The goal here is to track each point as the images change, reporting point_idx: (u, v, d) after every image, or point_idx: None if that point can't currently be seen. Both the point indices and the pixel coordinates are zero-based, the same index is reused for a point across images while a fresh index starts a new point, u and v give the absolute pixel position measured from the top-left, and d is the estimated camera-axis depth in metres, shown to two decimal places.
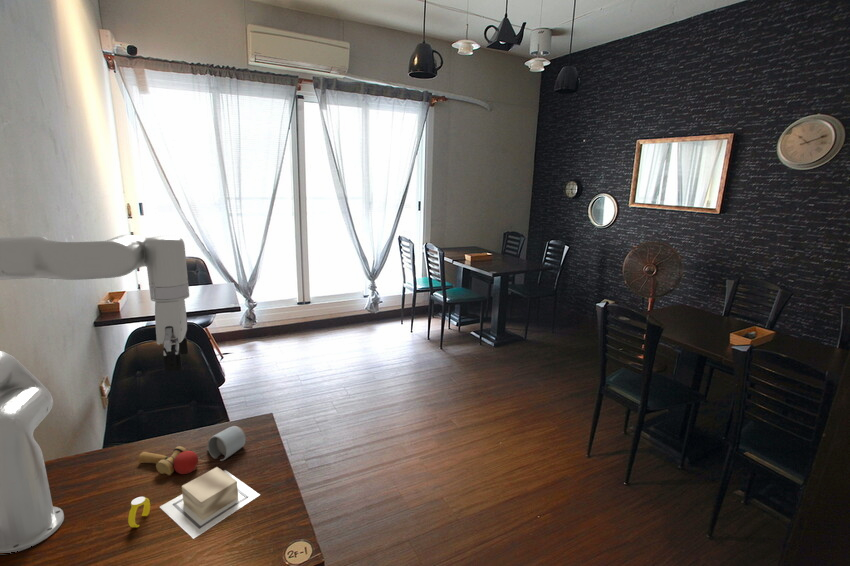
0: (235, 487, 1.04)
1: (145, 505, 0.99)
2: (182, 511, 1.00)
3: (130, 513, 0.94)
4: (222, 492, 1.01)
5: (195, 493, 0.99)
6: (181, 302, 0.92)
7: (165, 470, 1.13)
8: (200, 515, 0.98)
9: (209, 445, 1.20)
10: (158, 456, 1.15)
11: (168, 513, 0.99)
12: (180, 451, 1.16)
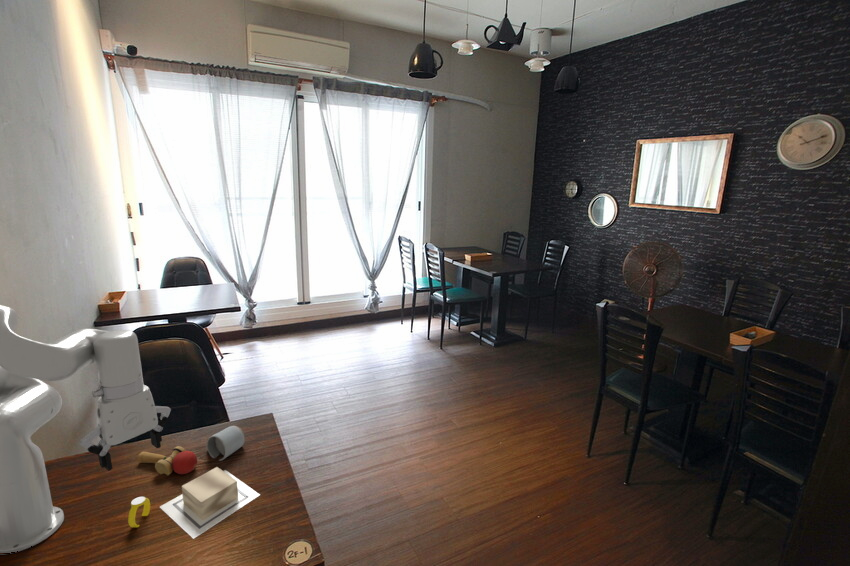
0: (235, 487, 1.04)
1: (145, 505, 0.99)
2: (182, 511, 1.00)
3: (130, 513, 0.94)
4: (222, 492, 1.01)
5: (195, 493, 0.99)
6: None
7: (164, 470, 1.13)
8: (200, 515, 0.98)
9: (208, 445, 1.20)
10: (157, 455, 1.15)
11: (168, 513, 0.99)
12: (179, 451, 1.16)
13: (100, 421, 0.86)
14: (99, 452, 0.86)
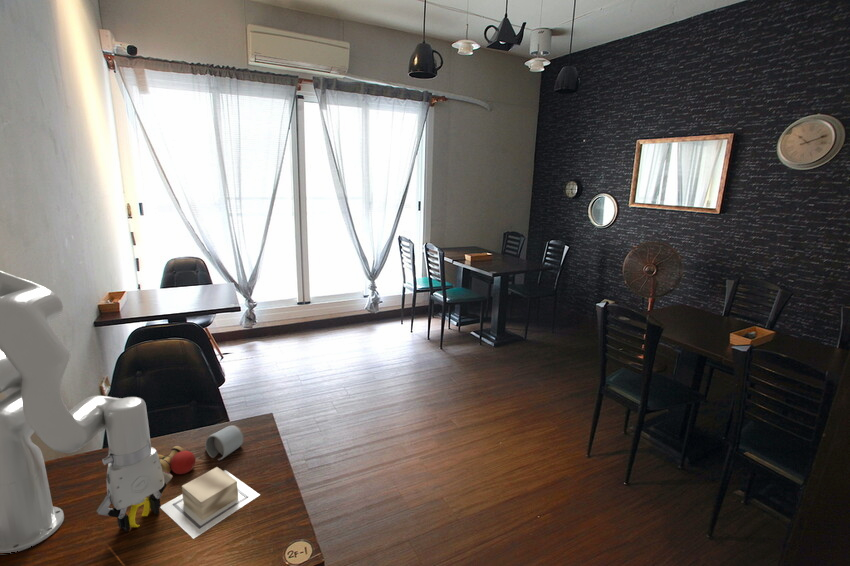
0: (235, 487, 1.04)
1: (145, 505, 0.99)
2: (182, 511, 1.00)
3: (130, 513, 0.94)
4: (222, 492, 1.01)
5: (195, 493, 0.99)
6: None
7: None
8: (200, 515, 0.98)
9: (207, 444, 1.20)
10: None
11: (168, 513, 0.99)
12: (177, 451, 1.16)
13: (110, 487, 0.89)
14: (118, 516, 0.92)
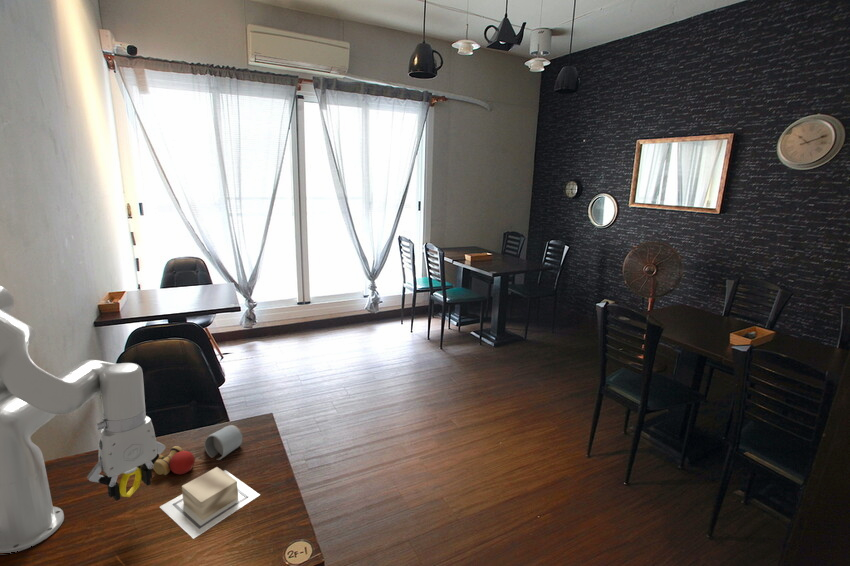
0: (235, 487, 1.04)
1: (136, 475, 0.97)
2: (182, 511, 1.00)
3: (121, 482, 0.92)
4: (222, 492, 1.01)
5: (195, 493, 0.99)
6: None
7: (161, 470, 1.13)
8: (200, 515, 0.98)
9: (206, 444, 1.20)
10: None
11: (168, 513, 0.99)
12: (177, 451, 1.16)
13: (102, 453, 0.88)
14: (108, 484, 0.90)
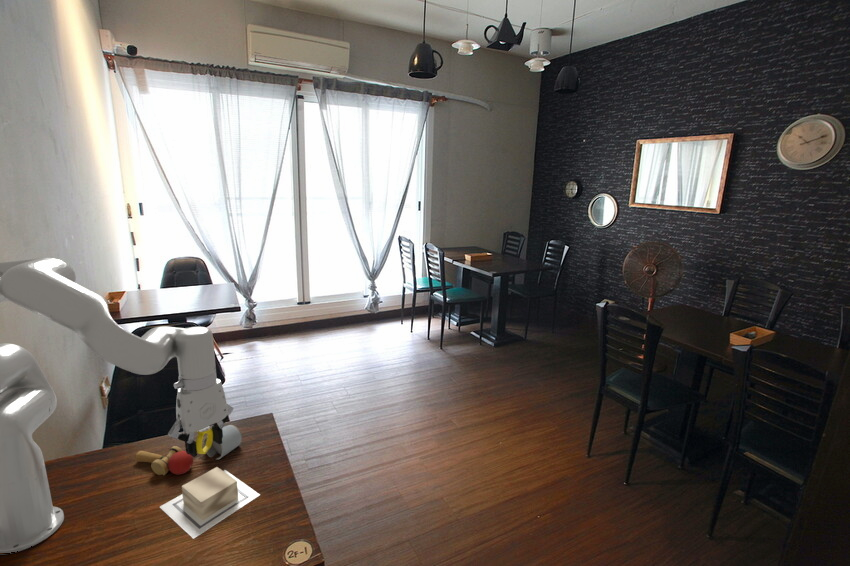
0: (235, 487, 1.04)
1: (208, 435, 1.02)
2: (182, 511, 1.00)
3: (197, 439, 0.97)
4: (222, 492, 1.01)
5: (195, 493, 0.99)
6: None
7: (160, 470, 1.13)
8: (200, 515, 0.98)
9: (205, 444, 1.21)
10: (154, 455, 1.16)
11: (168, 513, 0.99)
12: (175, 451, 1.16)
13: (180, 411, 0.93)
14: (187, 441, 0.95)
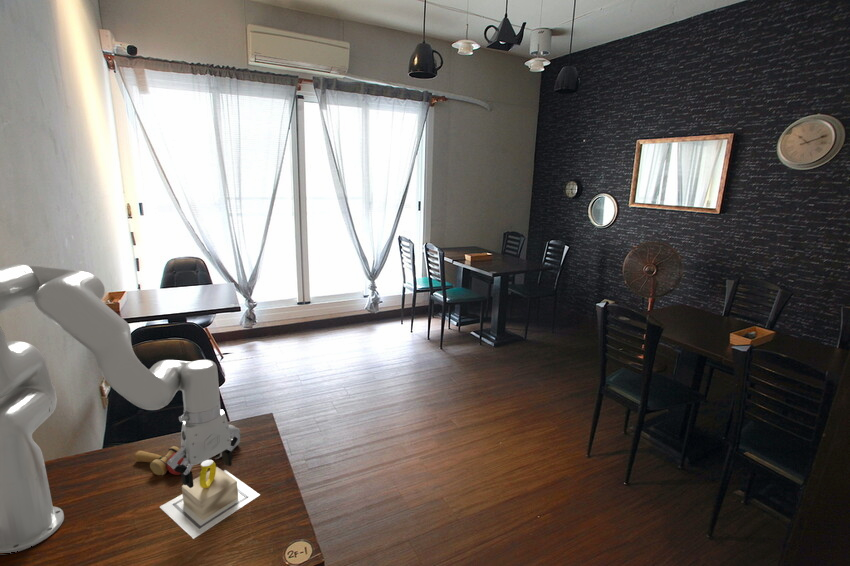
0: (235, 487, 1.04)
1: (211, 468, 1.04)
2: (182, 511, 1.00)
3: (201, 474, 0.99)
4: (222, 492, 1.01)
5: (195, 493, 0.99)
6: None
7: (159, 470, 1.13)
8: (200, 515, 0.98)
9: None
10: (153, 455, 1.16)
11: (168, 513, 0.99)
12: (174, 451, 1.16)
13: (185, 443, 0.95)
14: (183, 471, 0.95)
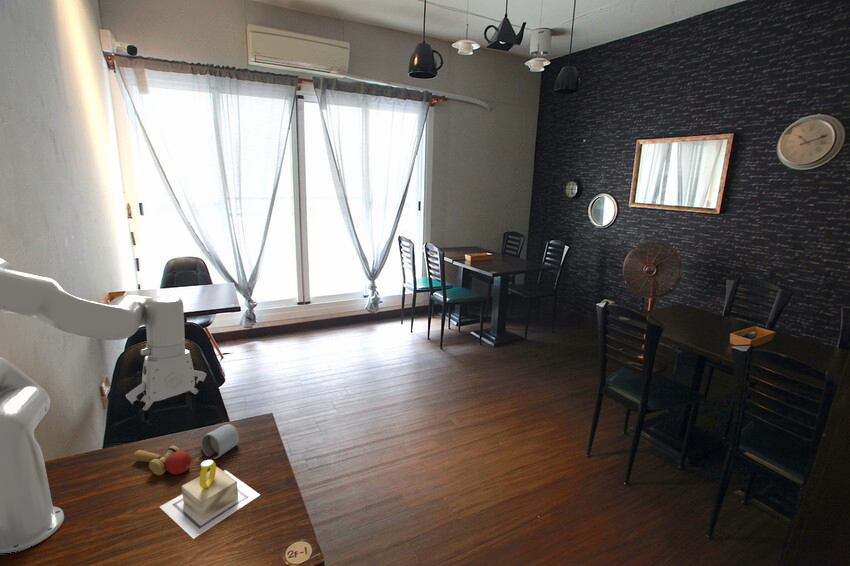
0: (235, 487, 1.04)
1: (211, 468, 1.04)
2: (182, 511, 1.00)
3: (201, 474, 0.99)
4: (222, 492, 1.01)
5: (195, 493, 0.99)
6: None
7: (158, 469, 1.13)
8: (200, 515, 0.98)
9: (203, 443, 1.21)
10: (152, 454, 1.16)
11: (168, 513, 0.99)
12: (173, 451, 1.16)
13: (145, 378, 0.93)
14: (142, 406, 0.94)
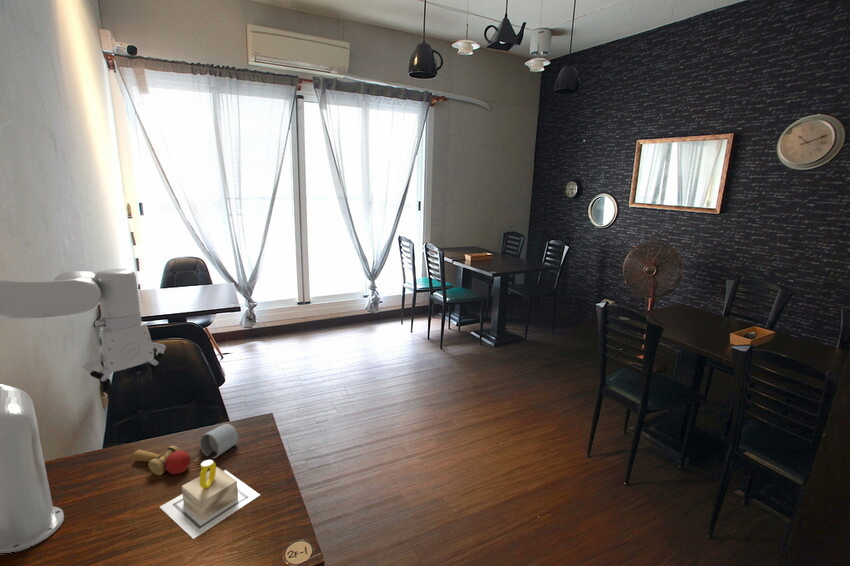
0: (235, 487, 1.04)
1: (211, 468, 1.04)
2: (182, 511, 1.00)
3: (201, 474, 0.99)
4: (222, 492, 1.01)
5: (195, 493, 0.99)
6: None
7: (157, 469, 1.13)
8: (200, 515, 0.98)
9: (201, 443, 1.21)
10: (152, 454, 1.16)
11: (168, 513, 0.99)
12: (173, 451, 1.16)
13: (101, 349, 0.95)
14: (100, 377, 0.96)
